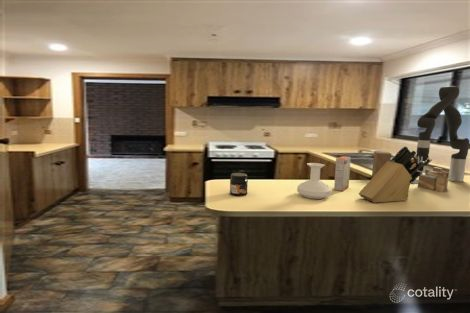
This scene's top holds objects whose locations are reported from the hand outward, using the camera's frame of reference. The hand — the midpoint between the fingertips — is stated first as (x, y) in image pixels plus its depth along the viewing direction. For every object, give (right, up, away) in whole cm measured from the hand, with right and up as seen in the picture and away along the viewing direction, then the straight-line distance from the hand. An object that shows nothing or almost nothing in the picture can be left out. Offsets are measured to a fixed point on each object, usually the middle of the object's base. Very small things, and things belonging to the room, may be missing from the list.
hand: (420, 171), depth 217 cm
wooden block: (-17, -6, +24) cm, 30 cm away
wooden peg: (+4, -2, -9) cm, 11 cm away
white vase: (-84, -14, -33) cm, 91 cm away
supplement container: (-128, -12, -33) cm, 133 cm away
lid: (+6, -4, -5) cm, 9 cm away
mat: (+2, -8, +14) cm, 17 cm away
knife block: (-40, -15, -36) cm, 55 cm away
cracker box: (-61, -11, -14) cm, 63 cm away
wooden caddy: (+7, -11, -6) cm, 15 cm away
